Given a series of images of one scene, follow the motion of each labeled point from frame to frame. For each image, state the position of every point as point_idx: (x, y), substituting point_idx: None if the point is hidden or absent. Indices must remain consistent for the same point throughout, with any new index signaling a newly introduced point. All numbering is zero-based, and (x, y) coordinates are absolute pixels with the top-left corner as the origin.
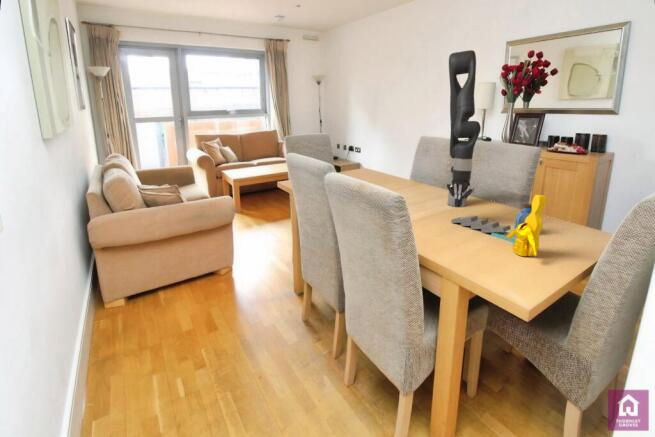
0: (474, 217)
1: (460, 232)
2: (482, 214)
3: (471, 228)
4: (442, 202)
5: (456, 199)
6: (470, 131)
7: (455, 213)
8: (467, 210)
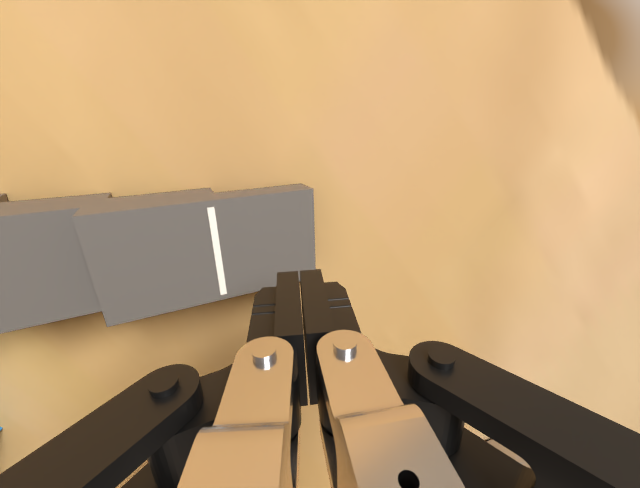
0: (93, 278)
1: (81, 33)
2: None
3: (106, 193)
4: None
5: (321, 325)
6: None
7: None
8: None
